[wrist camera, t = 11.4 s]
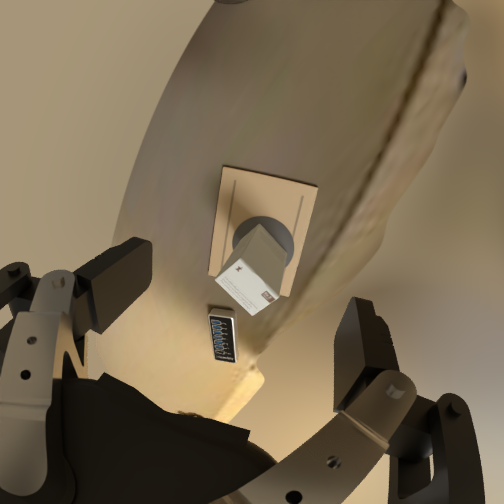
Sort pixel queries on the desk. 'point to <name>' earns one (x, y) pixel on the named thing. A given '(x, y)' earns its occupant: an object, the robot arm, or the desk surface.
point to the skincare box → (254, 270)
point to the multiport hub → (224, 335)
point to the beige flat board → (261, 216)
